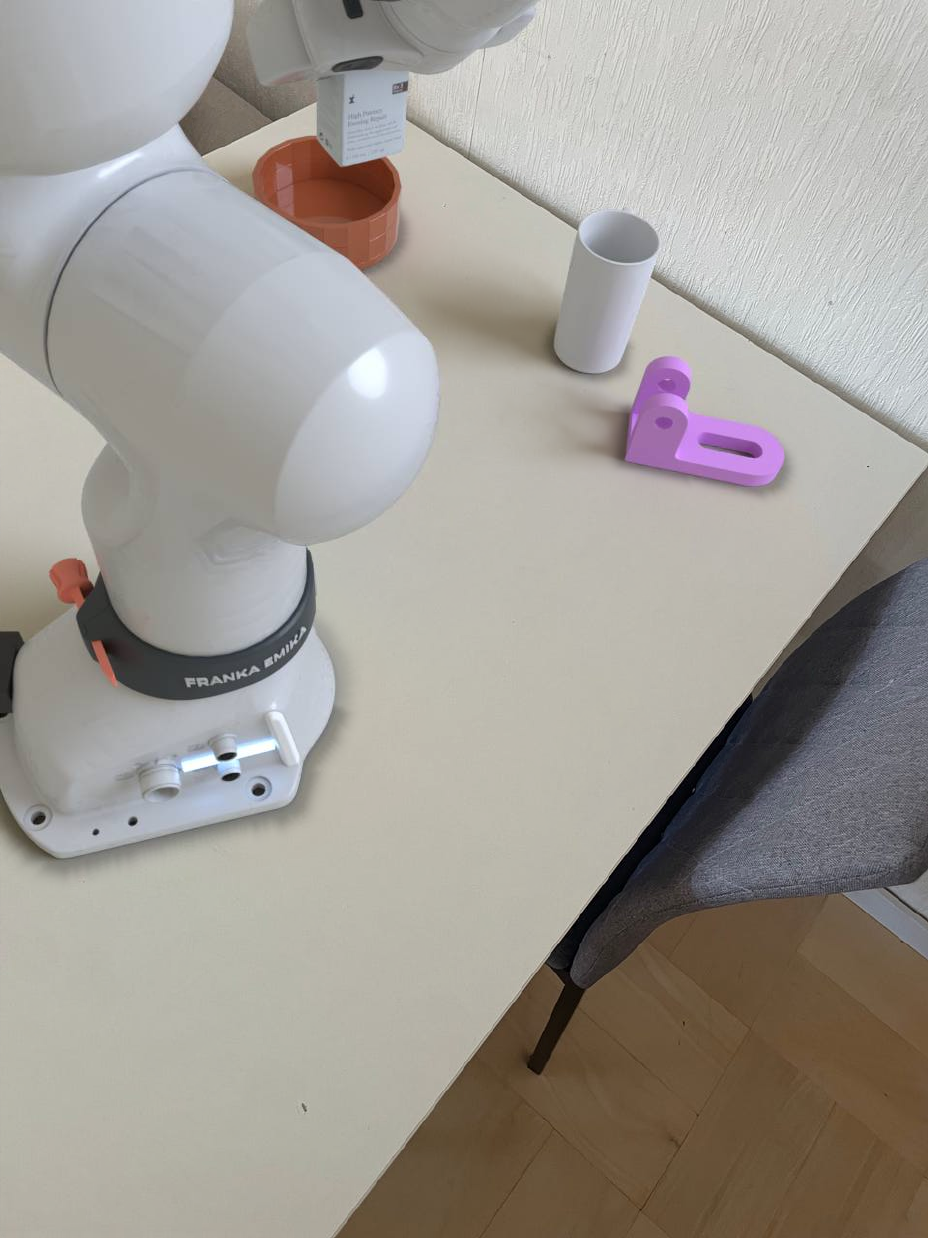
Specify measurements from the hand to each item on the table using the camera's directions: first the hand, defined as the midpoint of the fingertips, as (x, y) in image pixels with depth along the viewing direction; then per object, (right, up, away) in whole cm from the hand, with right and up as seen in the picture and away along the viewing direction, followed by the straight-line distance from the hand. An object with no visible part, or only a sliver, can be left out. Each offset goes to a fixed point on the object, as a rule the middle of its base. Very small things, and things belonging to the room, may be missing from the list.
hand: (359, 61), depth 78 cm
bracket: (+28, -28, +9) cm, 41 cm away
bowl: (-5, -6, +18) cm, 20 cm away
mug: (+19, -17, +14) cm, 30 cm away
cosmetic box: (0, -4, +5) cm, 7 cm away
